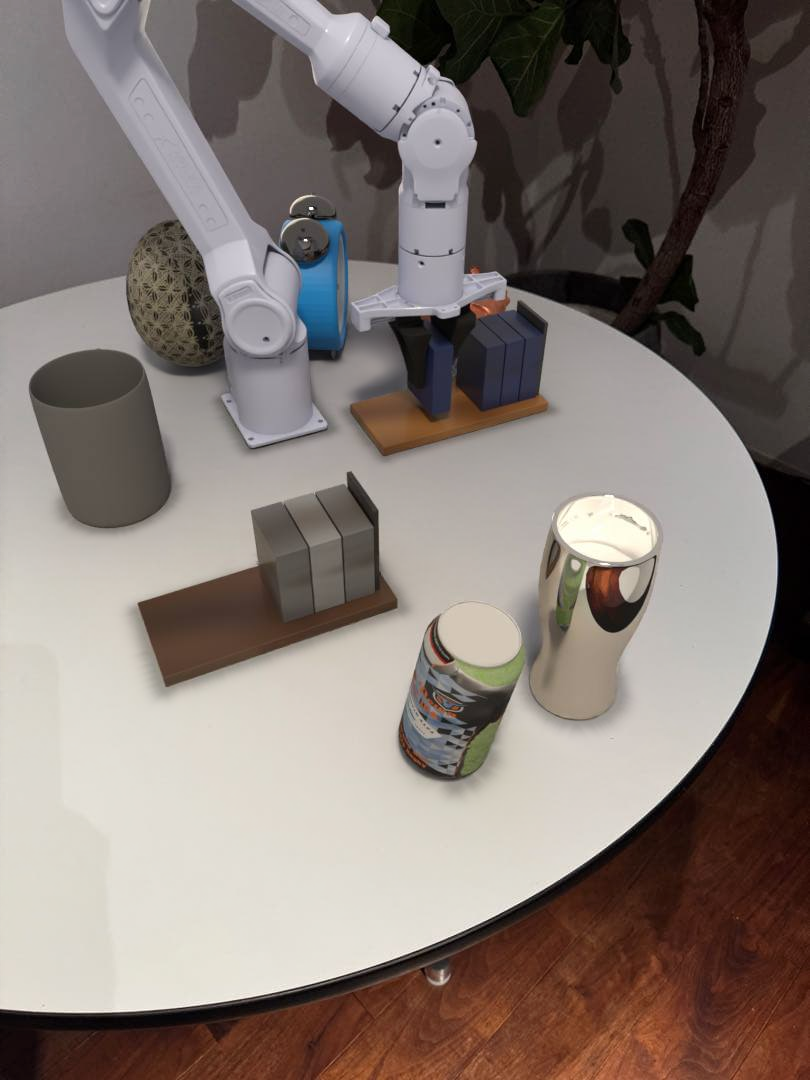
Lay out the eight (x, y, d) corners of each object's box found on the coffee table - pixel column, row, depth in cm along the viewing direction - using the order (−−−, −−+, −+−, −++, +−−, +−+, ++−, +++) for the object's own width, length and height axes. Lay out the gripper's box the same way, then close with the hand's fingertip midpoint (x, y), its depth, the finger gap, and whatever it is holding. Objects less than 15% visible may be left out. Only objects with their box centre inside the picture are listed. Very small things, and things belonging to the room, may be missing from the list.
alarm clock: (339, 375, 91) (333, 236, 81) (281, 373, 92) (267, 234, 81) (350, 314, 101) (345, 183, 91) (297, 313, 101) (286, 182, 91)
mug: (173, 522, 74) (146, 403, 66) (61, 536, 73) (19, 416, 64) (171, 430, 84) (147, 317, 76) (72, 441, 82) (37, 327, 74)
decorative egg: (265, 376, 91) (249, 236, 81) (152, 399, 88) (121, 256, 78) (237, 324, 99) (219, 192, 89) (132, 344, 96) (102, 208, 86)
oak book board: (350, 412, 86) (346, 330, 80) (506, 371, 92) (514, 292, 86) (383, 456, 81) (382, 372, 75) (547, 410, 87) (559, 329, 81)
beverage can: (394, 711, 60) (395, 589, 52) (500, 705, 60) (517, 583, 52) (402, 793, 55) (404, 673, 47) (517, 785, 56) (538, 665, 48)
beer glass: (560, 741, 58) (594, 583, 48) (504, 668, 63) (525, 509, 52) (642, 702, 60) (692, 544, 50) (583, 635, 65) (617, 477, 55)
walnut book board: (139, 611, 66) (114, 522, 60) (356, 543, 72) (353, 456, 66) (165, 687, 61) (140, 598, 55) (397, 607, 67) (398, 519, 61)
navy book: (406, 387, 86) (407, 322, 81) (424, 382, 86) (426, 318, 82) (431, 415, 82) (434, 350, 77) (450, 410, 83) (454, 345, 78)
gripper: (373, 278, 69) (375, 420, 78) (529, 245, 74) (514, 383, 83) (339, 243, 74) (345, 382, 83) (488, 215, 78) (478, 349, 87)
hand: (427, 380), depth 83 cm, fingers closed on navy book, 2 cm apart
